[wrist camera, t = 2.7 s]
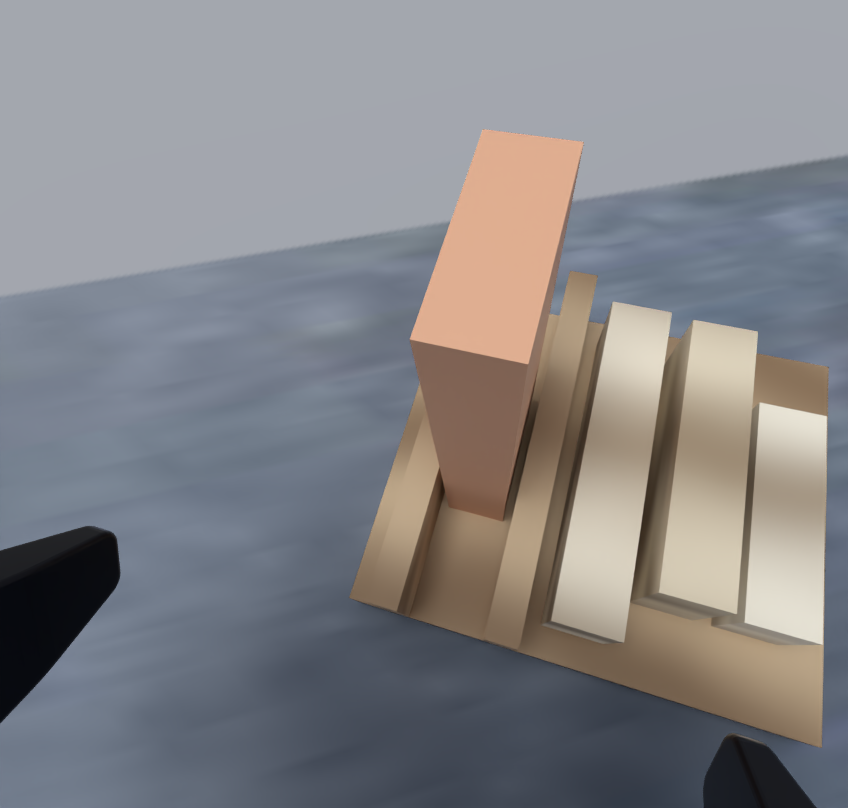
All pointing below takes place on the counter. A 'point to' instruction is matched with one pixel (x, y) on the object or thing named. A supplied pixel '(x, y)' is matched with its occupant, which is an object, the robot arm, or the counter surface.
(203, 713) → the counter surface
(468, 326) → the tall panel
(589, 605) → the offcut rack
